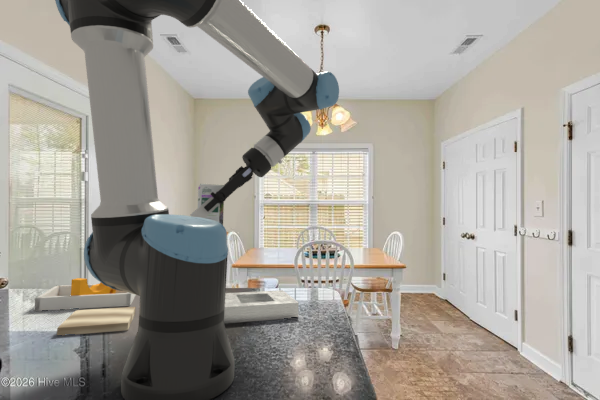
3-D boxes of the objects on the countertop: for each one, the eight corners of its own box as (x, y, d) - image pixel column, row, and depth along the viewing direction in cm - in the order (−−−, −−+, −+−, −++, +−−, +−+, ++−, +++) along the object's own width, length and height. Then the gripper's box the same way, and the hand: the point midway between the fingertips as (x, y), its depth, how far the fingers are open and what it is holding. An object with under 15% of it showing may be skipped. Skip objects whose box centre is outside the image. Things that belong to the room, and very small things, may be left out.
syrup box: (197, 244, 79) (200, 182, 80) (196, 242, 84) (198, 184, 85) (222, 244, 81) (224, 184, 82) (219, 242, 86) (221, 186, 87)
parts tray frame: (130, 305, 85) (130, 293, 85) (34, 311, 78) (35, 298, 78) (136, 293, 98) (137, 282, 98) (55, 296, 91) (56, 285, 91)
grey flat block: (298, 317, 79) (298, 302, 79) (219, 323, 73) (220, 307, 73) (282, 303, 91) (282, 290, 91) (214, 307, 85) (214, 293, 85)
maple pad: (127, 330, 68) (128, 322, 68) (56, 335, 64) (57, 327, 64) (135, 313, 79) (135, 306, 79) (75, 317, 75) (76, 310, 75)
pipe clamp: (101, 294, 94) (103, 271, 95) (115, 295, 93) (116, 272, 94) (64, 305, 83) (65, 279, 83) (79, 307, 82) (80, 280, 82)
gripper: (281, 163, 80) (207, 232, 74) (264, 172, 97) (203, 228, 91) (260, 139, 78) (182, 207, 72) (246, 152, 96) (183, 208, 90)
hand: (194, 219), depth 82 cm, fingers closed on syrup box, 6 cm apart
